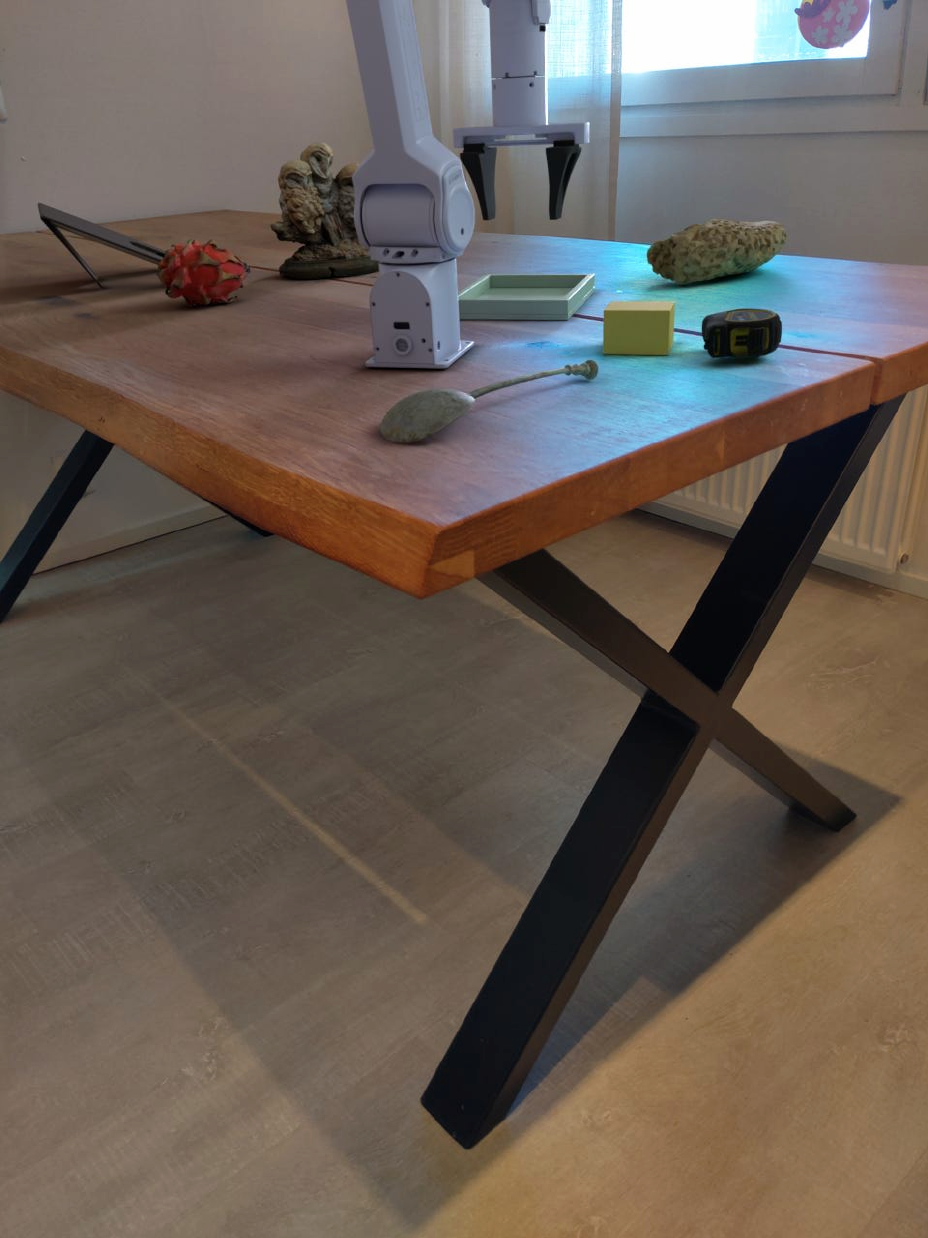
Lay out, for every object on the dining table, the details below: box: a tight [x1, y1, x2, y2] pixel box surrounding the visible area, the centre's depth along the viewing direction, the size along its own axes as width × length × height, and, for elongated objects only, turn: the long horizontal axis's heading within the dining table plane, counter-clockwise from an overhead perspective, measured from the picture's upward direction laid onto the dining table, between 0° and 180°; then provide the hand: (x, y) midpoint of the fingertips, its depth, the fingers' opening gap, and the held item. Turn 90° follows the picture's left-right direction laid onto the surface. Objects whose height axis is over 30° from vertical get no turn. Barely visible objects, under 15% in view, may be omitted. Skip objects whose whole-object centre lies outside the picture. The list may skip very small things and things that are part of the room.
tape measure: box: [701, 307, 783, 359], centre depth 89 cm, size 7×7×4 cm
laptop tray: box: [37, 202, 166, 289], centre depth 146 cm, size 23×23×9 cm
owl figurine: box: [269, 141, 379, 280], centre depth 142 cm, size 18×12×17 cm, turn 125°
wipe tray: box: [458, 273, 596, 321], centre depth 116 cm, size 17×14×2 cm
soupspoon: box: [379, 359, 599, 444], centre depth 79 cm, size 22×3×7 cm
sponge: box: [646, 218, 787, 285], centre depth 126 cm, size 13×8×20 cm
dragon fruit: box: [156, 238, 251, 308], centre depth 126 cm, size 8×8×12 cm
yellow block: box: [602, 300, 676, 356], centre depth 94 cm, size 4×6×4 cm
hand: (521, 219), depth 110 cm, fingers open, 7 cm apart
